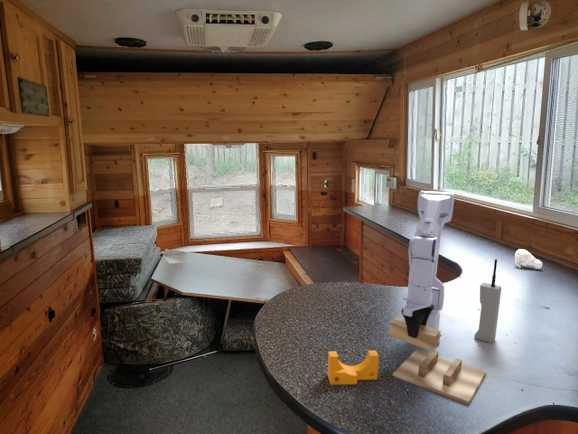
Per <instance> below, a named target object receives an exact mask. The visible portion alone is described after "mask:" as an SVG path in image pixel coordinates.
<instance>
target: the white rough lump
mask: <svg viewBox="0 0 578 434" xmlns="http://www.w3.org/2000/svg"><path fill="white" fill-rule="evenodd" d="M514 262H515V265H516V267H519V269H522V266H531V267H534V270H537V269H538V270H540V269H541V268H542V267H543V262H542V261H541V260H540V259H537V258H536V257H535V256H534V255H532V253H531V252H529V251H528V250H527V249H523V248H522V249H521V248H519V249H517V250H516V251H515V254H514ZM521 265H522V266H521Z"/></svg>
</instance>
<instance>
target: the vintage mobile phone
mask: <svg viewBox="0 0 578 434" xmlns="http://www.w3.org/2000/svg"><path fill="white" fill-rule="evenodd" d="M497 263H498V259H497V258H495V259H494V264H493V273H492V277H491V278H492V279H491V283H487V282H483V283H481V284H480V286H479V303H480V306H481V307H480V314H479V323H478V329H477V331H476V332H475V333H474V339H476V340H479V341H483V342H486V343H490V344H493V342H494V341H495V340H496V334H497V329H498V328H497V327H498V317H499V310H500V302H501V294H502V287H501V286H500V285H496V278H497V277H496V274H497V273H496V271H497V266H498V264H497Z"/></svg>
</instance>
